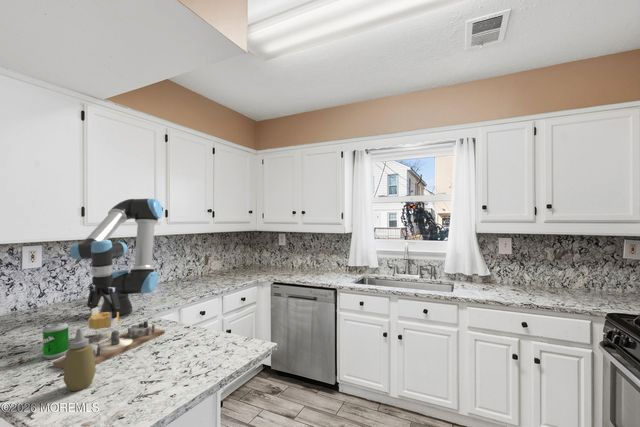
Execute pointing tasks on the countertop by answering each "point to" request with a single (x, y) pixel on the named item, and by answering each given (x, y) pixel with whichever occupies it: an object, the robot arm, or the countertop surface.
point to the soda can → (55, 340)
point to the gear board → (120, 342)
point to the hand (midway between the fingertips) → (104, 323)
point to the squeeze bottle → (79, 363)
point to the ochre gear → (100, 320)
